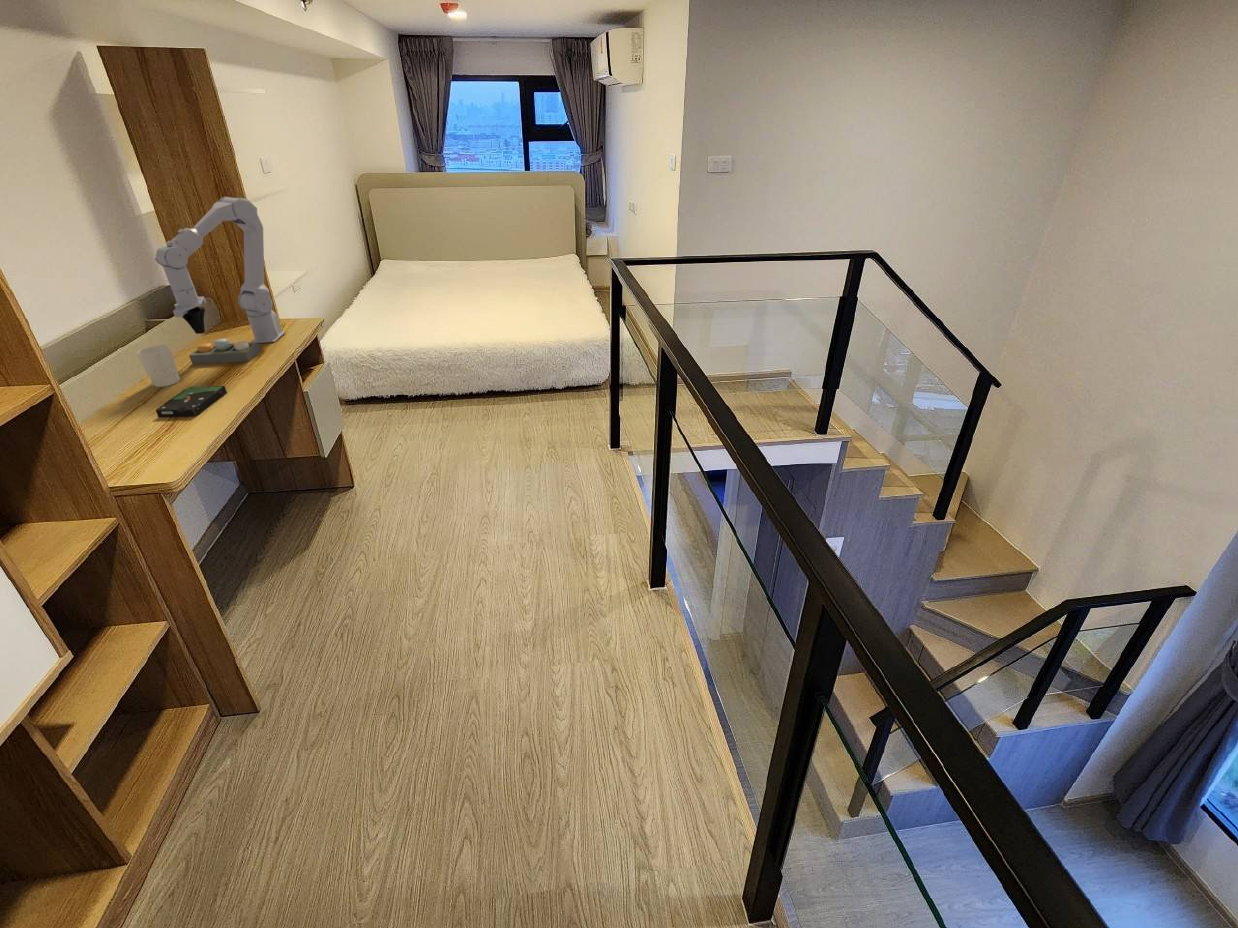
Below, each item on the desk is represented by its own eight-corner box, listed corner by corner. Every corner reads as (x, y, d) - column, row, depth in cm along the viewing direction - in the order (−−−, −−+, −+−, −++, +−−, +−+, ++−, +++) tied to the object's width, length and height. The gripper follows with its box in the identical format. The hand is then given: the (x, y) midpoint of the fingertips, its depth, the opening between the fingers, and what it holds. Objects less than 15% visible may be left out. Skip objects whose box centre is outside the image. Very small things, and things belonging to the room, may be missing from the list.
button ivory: (239, 349, 200) (237, 341, 198) (252, 348, 200) (250, 340, 198) (234, 354, 196) (231, 346, 195) (247, 353, 196) (244, 345, 195)
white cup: (189, 377, 186) (175, 344, 181) (170, 388, 179) (155, 354, 174) (164, 376, 187) (150, 344, 181) (144, 387, 180) (129, 354, 175)
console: (206, 354, 202) (203, 345, 201) (261, 351, 203) (258, 342, 201) (192, 364, 194) (188, 355, 193) (249, 361, 195) (245, 352, 194)
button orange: (204, 351, 199) (201, 343, 198) (217, 350, 199) (214, 342, 198) (197, 356, 196) (194, 348, 194) (211, 355, 196) (207, 347, 194)
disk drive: (198, 418, 163) (228, 393, 175) (194, 409, 161) (225, 384, 174) (158, 419, 163) (191, 394, 176) (154, 410, 161) (187, 385, 174)
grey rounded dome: (220, 346, 199) (217, 338, 197) (233, 346, 199) (230, 338, 197) (214, 351, 195) (211, 343, 194) (227, 350, 195) (224, 342, 194)
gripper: (182, 282, 193) (198, 325, 200) (155, 296, 181) (174, 341, 188) (205, 281, 193) (221, 324, 200) (180, 295, 181) (198, 340, 188)
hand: (200, 332), depth 194 cm, fingers closed
